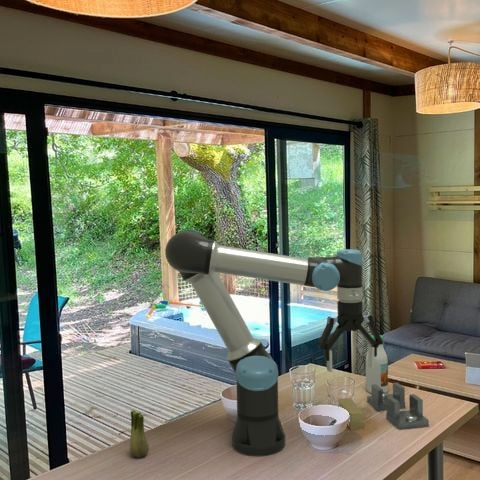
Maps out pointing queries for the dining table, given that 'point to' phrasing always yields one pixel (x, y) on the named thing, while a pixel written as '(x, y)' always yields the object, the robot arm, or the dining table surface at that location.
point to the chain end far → (380, 397)
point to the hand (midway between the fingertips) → (350, 369)
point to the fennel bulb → (138, 435)
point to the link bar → (353, 413)
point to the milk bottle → (378, 370)
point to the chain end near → (406, 413)
